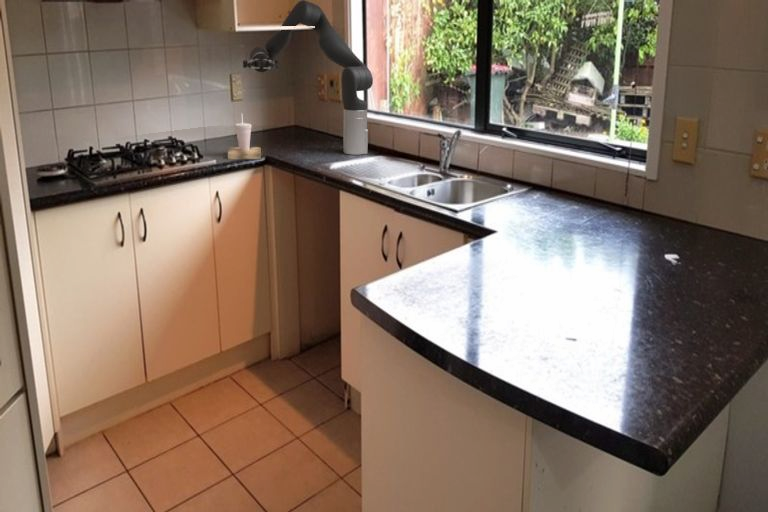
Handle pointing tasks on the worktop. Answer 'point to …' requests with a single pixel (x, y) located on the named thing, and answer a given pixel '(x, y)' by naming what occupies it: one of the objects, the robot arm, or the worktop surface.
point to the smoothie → (243, 134)
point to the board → (244, 153)
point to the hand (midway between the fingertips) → (260, 65)
